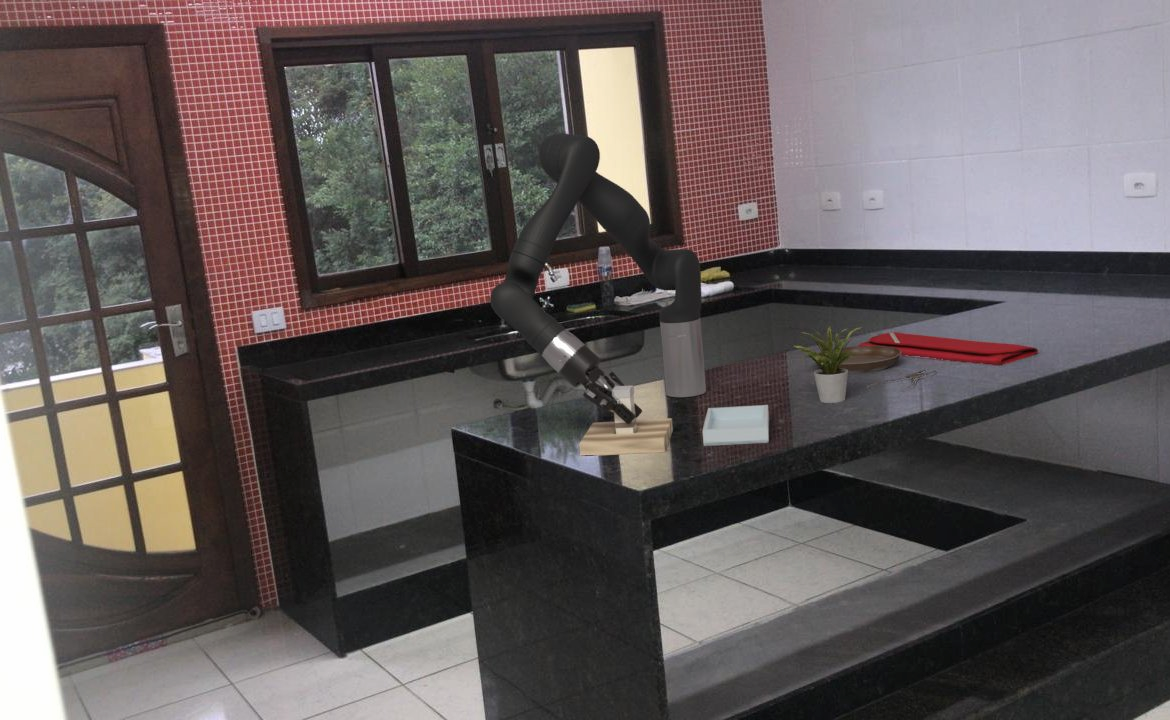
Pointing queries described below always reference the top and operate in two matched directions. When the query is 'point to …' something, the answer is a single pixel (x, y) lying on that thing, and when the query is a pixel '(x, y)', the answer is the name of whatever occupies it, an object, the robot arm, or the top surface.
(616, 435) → the wooden board with hole
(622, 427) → the block
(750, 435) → the parts tray
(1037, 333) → the top surface
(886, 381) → the pliers
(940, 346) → the dish drying mat
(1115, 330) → the top surface
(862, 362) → the plant saucer
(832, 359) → the house plant
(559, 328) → the robot arm
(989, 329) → the top surface
